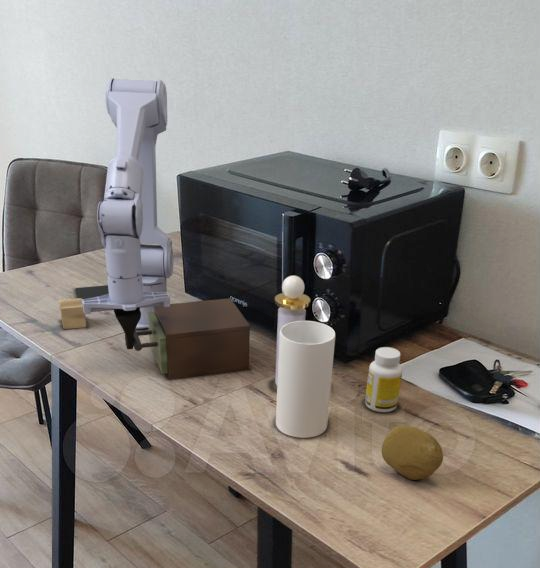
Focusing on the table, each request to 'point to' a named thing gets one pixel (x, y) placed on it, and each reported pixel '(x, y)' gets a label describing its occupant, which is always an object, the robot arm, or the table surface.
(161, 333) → the drawer
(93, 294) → the mat
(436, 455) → the potato
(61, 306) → the block
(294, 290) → the perfume bottle
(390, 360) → the supplement bottle
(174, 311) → the cabinet
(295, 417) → the cup
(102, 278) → the table surface
